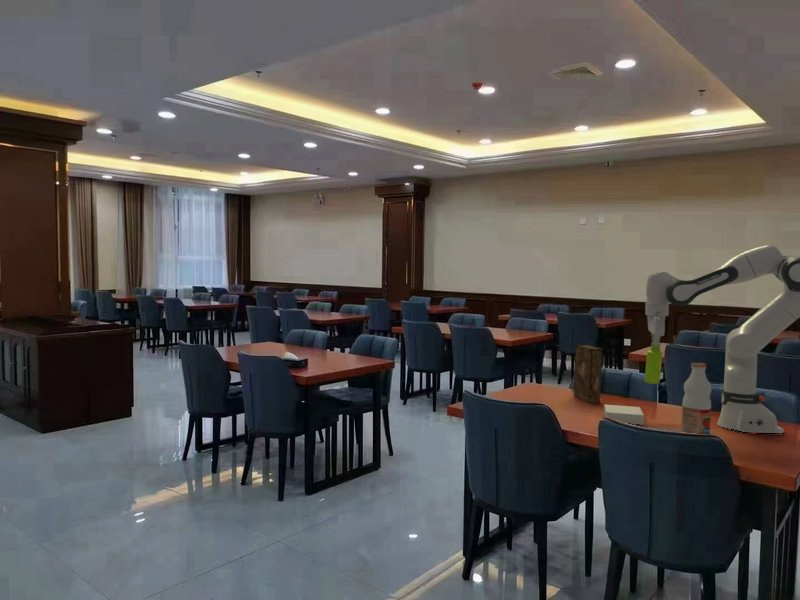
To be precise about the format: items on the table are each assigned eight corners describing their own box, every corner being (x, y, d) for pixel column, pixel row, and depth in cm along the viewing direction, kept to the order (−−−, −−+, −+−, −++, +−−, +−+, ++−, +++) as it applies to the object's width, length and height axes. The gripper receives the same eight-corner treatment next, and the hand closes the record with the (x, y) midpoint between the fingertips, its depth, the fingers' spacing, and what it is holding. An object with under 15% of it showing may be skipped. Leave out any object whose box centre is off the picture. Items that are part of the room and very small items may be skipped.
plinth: (639, 416, 249) (639, 407, 248) (643, 425, 235) (643, 415, 235) (603, 413, 252) (604, 404, 252) (606, 421, 239) (606, 412, 239)
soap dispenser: (654, 378, 252) (659, 333, 248) (661, 384, 246) (667, 337, 242) (640, 378, 252) (645, 332, 248) (648, 384, 245) (653, 337, 241)
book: (601, 403, 272) (603, 349, 270) (590, 403, 271) (592, 349, 269) (584, 395, 288) (586, 344, 286) (573, 395, 287) (575, 344, 285)
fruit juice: (680, 434, 224) (683, 360, 222) (708, 437, 220) (712, 362, 218) (681, 440, 215) (685, 364, 213) (710, 444, 211) (714, 366, 210)
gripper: (669, 313, 234) (667, 348, 235) (661, 309, 253) (660, 342, 254) (652, 312, 235) (650, 347, 236) (645, 309, 255) (644, 341, 256)
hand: (655, 344), depth 245 cm, fingers closed on soap dispenser, 4 cm apart
